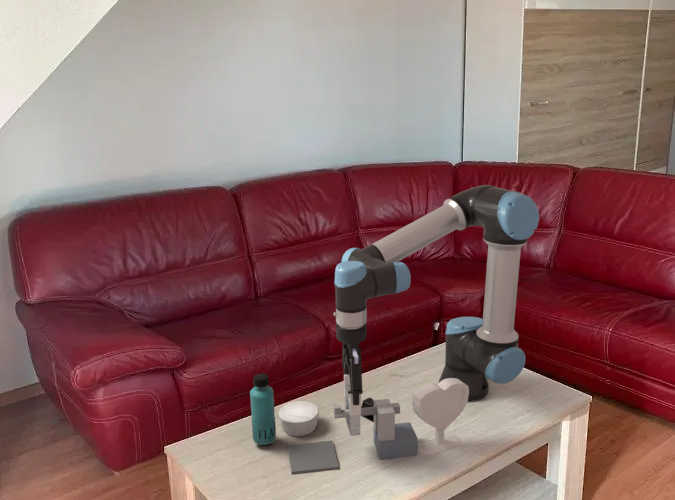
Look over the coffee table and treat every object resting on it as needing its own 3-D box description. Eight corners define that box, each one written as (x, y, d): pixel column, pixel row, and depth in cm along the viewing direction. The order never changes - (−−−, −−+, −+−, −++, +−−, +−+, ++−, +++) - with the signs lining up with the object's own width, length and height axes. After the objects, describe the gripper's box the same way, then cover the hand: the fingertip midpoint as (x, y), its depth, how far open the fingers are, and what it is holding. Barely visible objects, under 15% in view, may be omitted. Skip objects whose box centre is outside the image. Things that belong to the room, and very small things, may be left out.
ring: (354, 418, 177) (354, 384, 175) (360, 435, 170) (360, 399, 167) (345, 419, 177) (344, 385, 174) (350, 436, 170) (350, 400, 167)
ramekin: (283, 441, 182) (282, 424, 180) (276, 420, 192) (275, 404, 191) (323, 435, 185) (323, 418, 183) (314, 414, 195) (313, 398, 193)
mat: (332, 442, 181) (332, 440, 181) (338, 468, 170) (338, 466, 169) (287, 446, 179) (287, 444, 179) (291, 474, 168) (291, 471, 168)
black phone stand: (394, 418, 193) (394, 404, 191) (376, 428, 188) (376, 414, 187) (363, 403, 201) (363, 389, 200) (346, 412, 197) (346, 398, 195)
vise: (409, 438, 182) (410, 391, 178) (417, 455, 174) (418, 406, 170) (333, 446, 179) (332, 399, 175) (337, 464, 171) (336, 415, 167)
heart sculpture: (420, 457, 173) (421, 395, 168) (409, 447, 178) (410, 386, 172) (468, 441, 180) (471, 381, 175) (457, 432, 184) (459, 373, 179)
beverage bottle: (256, 452, 177) (252, 384, 171) (249, 439, 183) (245, 373, 177) (280, 446, 180) (276, 379, 174) (272, 433, 185) (268, 368, 179)
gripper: (330, 309, 174) (332, 387, 181) (342, 342, 155) (344, 429, 161) (358, 306, 175) (359, 384, 182) (374, 339, 156) (375, 426, 162)
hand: (352, 405), depth 172 cm, fingers closed on ring, 8 cm apart
